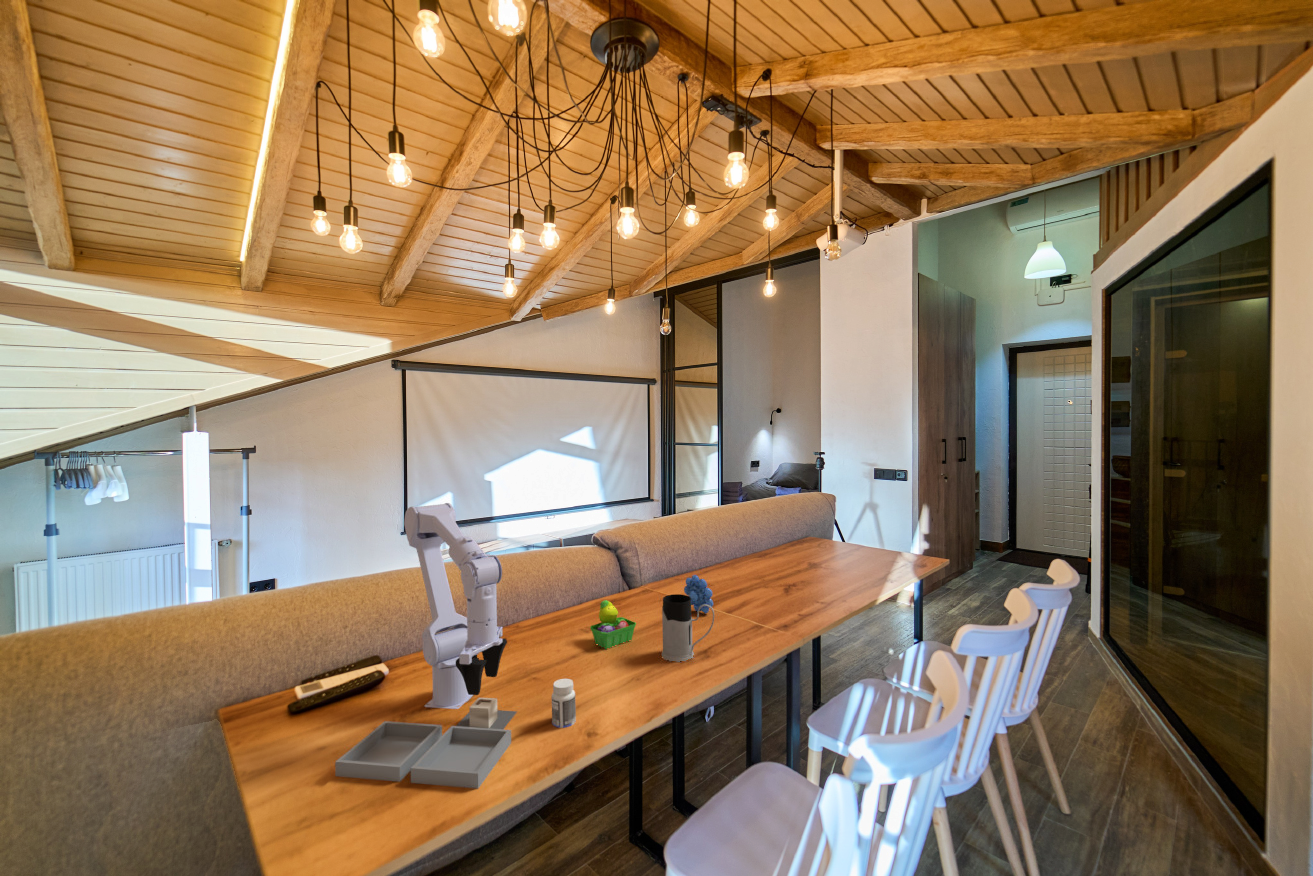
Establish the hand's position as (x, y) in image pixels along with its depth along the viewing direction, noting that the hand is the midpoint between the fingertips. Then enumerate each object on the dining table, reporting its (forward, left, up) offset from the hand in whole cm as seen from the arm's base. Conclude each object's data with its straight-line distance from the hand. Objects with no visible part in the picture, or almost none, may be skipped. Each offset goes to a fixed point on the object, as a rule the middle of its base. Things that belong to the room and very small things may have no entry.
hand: (482, 684), depth 107 cm
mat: (0, 0, -8) cm, 8 cm away
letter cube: (0, 0, -8) cm, 8 cm away
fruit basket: (-45, +16, -9) cm, 49 cm away
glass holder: (-38, +38, -9) cm, 55 cm away
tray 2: (+13, +3, -8) cm, 15 cm away
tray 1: (+13, -11, -8) cm, 19 cm away
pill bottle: (-2, +16, -9) cm, 18 cm away
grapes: (-72, +38, -9) cm, 82 cm away
